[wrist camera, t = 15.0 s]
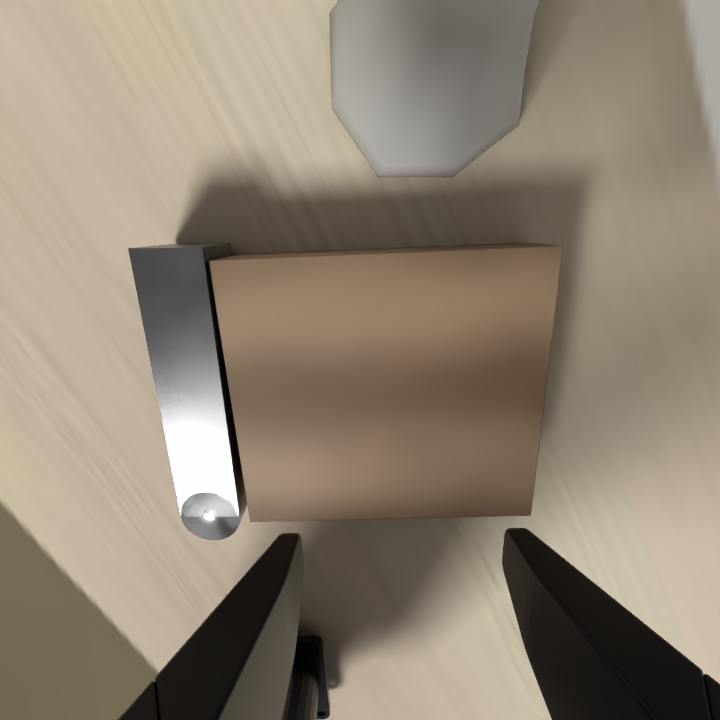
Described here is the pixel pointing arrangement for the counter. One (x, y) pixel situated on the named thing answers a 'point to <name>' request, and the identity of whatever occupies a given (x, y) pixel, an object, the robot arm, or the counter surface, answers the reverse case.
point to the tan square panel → (388, 378)
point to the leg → (192, 383)
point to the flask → (428, 79)
